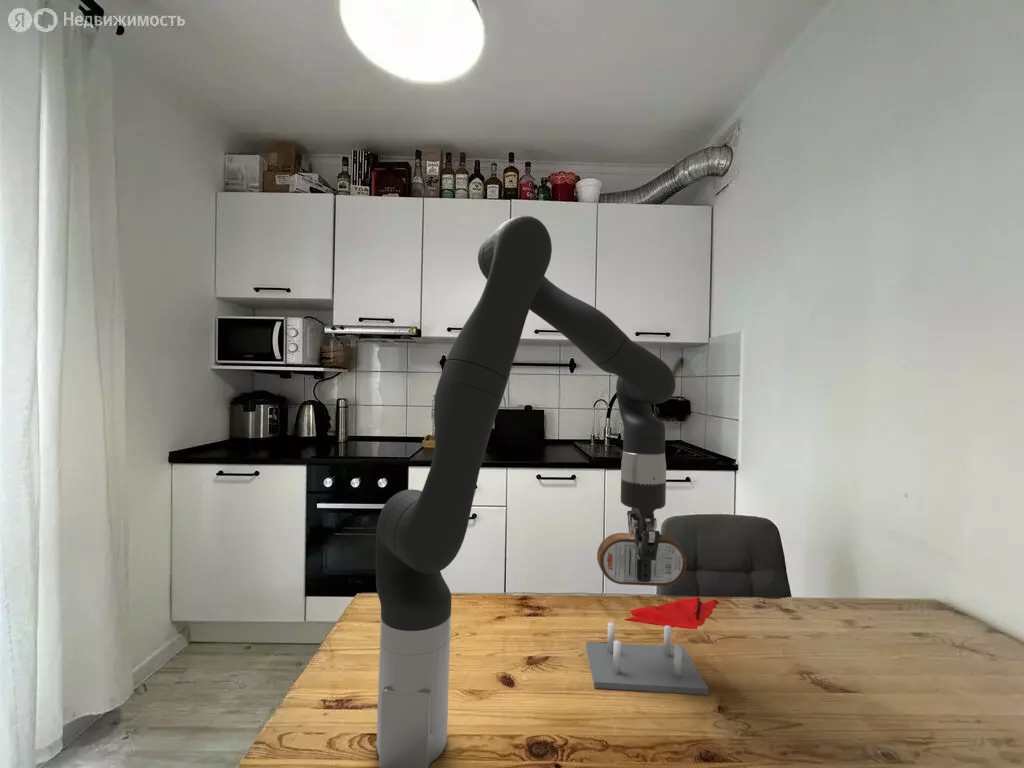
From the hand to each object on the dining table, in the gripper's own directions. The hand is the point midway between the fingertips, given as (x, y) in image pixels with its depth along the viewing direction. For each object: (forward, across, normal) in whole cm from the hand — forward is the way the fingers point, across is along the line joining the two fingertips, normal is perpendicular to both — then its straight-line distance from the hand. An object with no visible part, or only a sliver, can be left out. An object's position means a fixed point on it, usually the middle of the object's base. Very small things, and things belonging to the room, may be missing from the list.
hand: (641, 576), depth 82 cm
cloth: (+17, +21, -13) cm, 30 cm away
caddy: (+16, -1, 0) cm, 16 cm away
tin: (+1, 0, 0) cm, 1 cm away
